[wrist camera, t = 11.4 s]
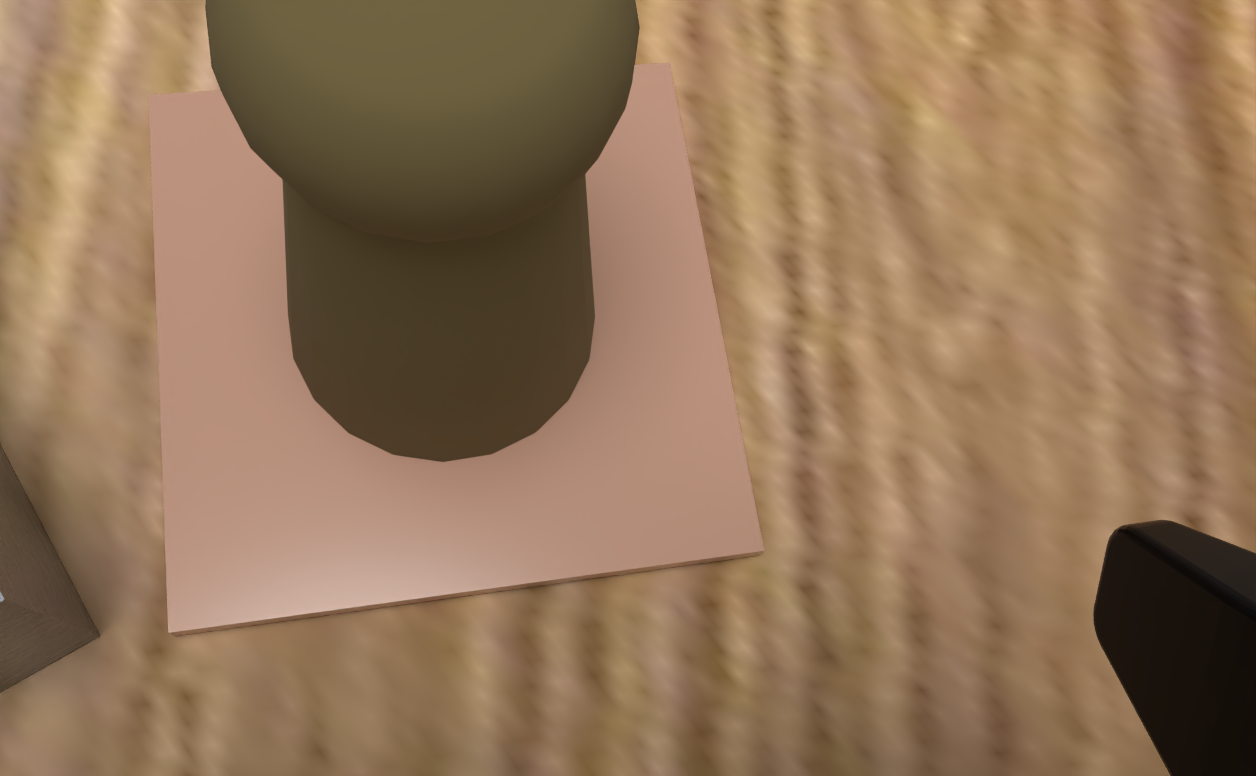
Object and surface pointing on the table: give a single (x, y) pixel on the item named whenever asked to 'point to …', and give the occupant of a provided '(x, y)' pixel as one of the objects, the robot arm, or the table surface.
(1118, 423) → the table surface
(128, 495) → the table surface
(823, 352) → the table surface
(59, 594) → the metal collar
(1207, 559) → the robot arm
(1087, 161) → the table surface
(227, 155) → the terracotta tile
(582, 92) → the cork
